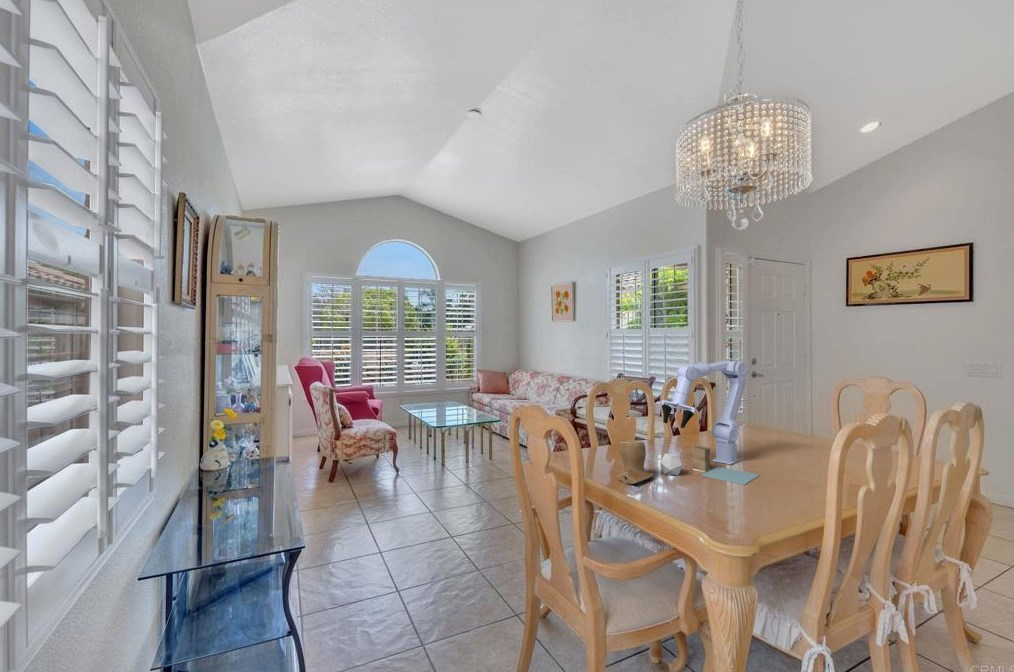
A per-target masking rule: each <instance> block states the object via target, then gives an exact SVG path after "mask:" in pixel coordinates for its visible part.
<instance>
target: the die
mask: <svg viewBox="0 0 1014 672" xmlns="http://www.w3.org/2000/svg"><path fill="white" fill-rule="evenodd" d="M659 463H660V467H661V468H662V471H663V474H664V475H670V476H679V474H680V472H681V470H682V468H683V464H682V460H681V458H680V455H679V454H676V453H668V452H667V453H664V454H663V457H661V460H660V462H659Z"/></svg>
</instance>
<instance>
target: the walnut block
mask: <svg viewBox="0 0 1014 672" xmlns="http://www.w3.org/2000/svg"><path fill="white" fill-rule="evenodd" d="M692 470H693V471H697V472H701V473H706V472H708V471H710V470H711V447H707V446H702V445H696V446H694V447H692Z"/></svg>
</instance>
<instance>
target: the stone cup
mask: <svg viewBox="0 0 1014 672" xmlns="http://www.w3.org/2000/svg"><path fill="white" fill-rule="evenodd" d="M646 451H647V450H646V445H645V442H644V441H643V440H622V441H620V442H619V454H620V457H621V460H622V463H623V466H624V470H623V472H622V473H619V474H618V475H617V476H616V477H617V480H619V481H621V482H622V483H624V484H628V485H633V484H637V483H640V482H643V481H645V480H646V481H647V480H648V479H650V478H652V477H653V476H654V474H653V473H652V472H650V471H646V470H645V461H646V457H647V455H646V454H647V452H646Z"/></svg>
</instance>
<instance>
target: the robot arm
mask: <svg viewBox="0 0 1014 672" xmlns="http://www.w3.org/2000/svg"><path fill="white" fill-rule="evenodd" d="M718 371H720V372H721V374H723V376H724V377H725V378H726V379H727V380H728V381H729V382H730V387H729V390H728V393H727V396H726V400H725V404H724V406H723V407H724V408H723V411H722V414H721V415H722V416H721V417H720V418H717V419H716V420H715V423H714V425H713V427H711V428H712V429H711V434H712V436H713V438H714V440H715V458H713V459H712V462H715V463H716V462H717V463H720V464H721V463H722V464H725V465H733V464H735V463H737V462H739V461H740V459H739V458H738V446H737V443H736V442H737V440H738V438H739V435H740V434H739V429H740V426H739V424H738V423H737V422H736V420H737V416H738V411H739V408H740V404H741V401H742V398H743V393H744V391H745V386H746V384H747V383H746V380H747V376H748V373H749V367H748V365H747V364H746V362H745V361H740V360H739V361H735V360H734V361H733V360H726V359H725V360H720V361H716V362H712V363H706V362H703V361H699V362H697V363H696V364H693V363H690V364H689V365H688V366H687V365H682V366H681V367H679V368H678V369H677V371H676V376H677V379H676V381H677V383H676V386H675V391H674V394H673V398H672V401H670V400H666V399H662V400H661V403H660V405H661V409H662V414H663V418H662V419H663V422H662V423H664V424H668V422H669V418H670V414H671V412H672V410H673V408H675V409H679V410H682V412H683V413H682V420H681V422H680V423H681V424H680V428H681V429H685V428H686V426H687V423H688V422H689V421H690V420H691V418H693V416H694V415H695V414H697V411H698V408H696V407H693V406H689V405H688V401H689V398H690V393H691V389H692V387H693V382H694V381H696V380H697V379H698V378H703V377H707V376H709V375H710V373H711V372H718Z"/></svg>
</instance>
